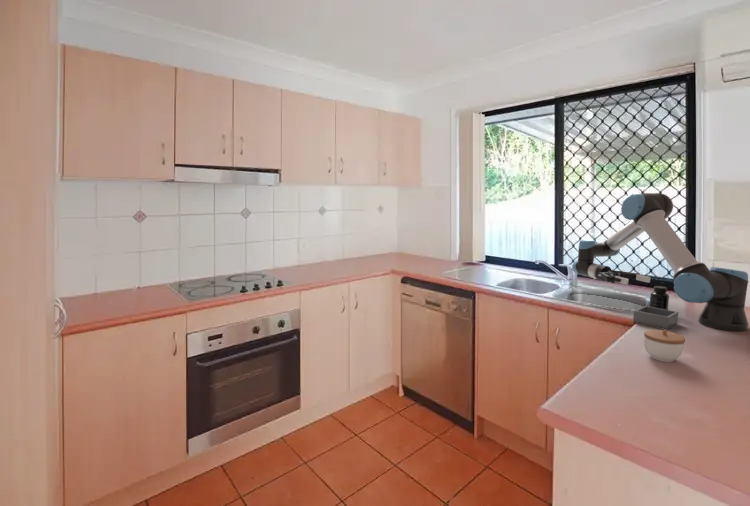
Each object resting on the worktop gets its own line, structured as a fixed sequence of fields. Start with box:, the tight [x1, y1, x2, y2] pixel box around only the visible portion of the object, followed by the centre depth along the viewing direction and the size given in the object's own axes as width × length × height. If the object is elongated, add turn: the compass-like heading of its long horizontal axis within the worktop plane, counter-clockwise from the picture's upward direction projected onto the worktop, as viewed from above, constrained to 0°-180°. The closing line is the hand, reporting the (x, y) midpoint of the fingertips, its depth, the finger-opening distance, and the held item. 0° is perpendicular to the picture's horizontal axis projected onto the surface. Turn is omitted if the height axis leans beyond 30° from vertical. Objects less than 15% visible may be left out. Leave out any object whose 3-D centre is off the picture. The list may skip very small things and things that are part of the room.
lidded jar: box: [643, 329, 686, 363], centre depth 130 cm, size 11×11×9 cm
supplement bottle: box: [649, 285, 670, 310], centre depth 179 cm, size 7×7×12 cm
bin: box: [632, 305, 679, 331], centre depth 166 cm, size 12×12×5 cm
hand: (638, 280), depth 188 cm, fingers open, 13 cm apart
